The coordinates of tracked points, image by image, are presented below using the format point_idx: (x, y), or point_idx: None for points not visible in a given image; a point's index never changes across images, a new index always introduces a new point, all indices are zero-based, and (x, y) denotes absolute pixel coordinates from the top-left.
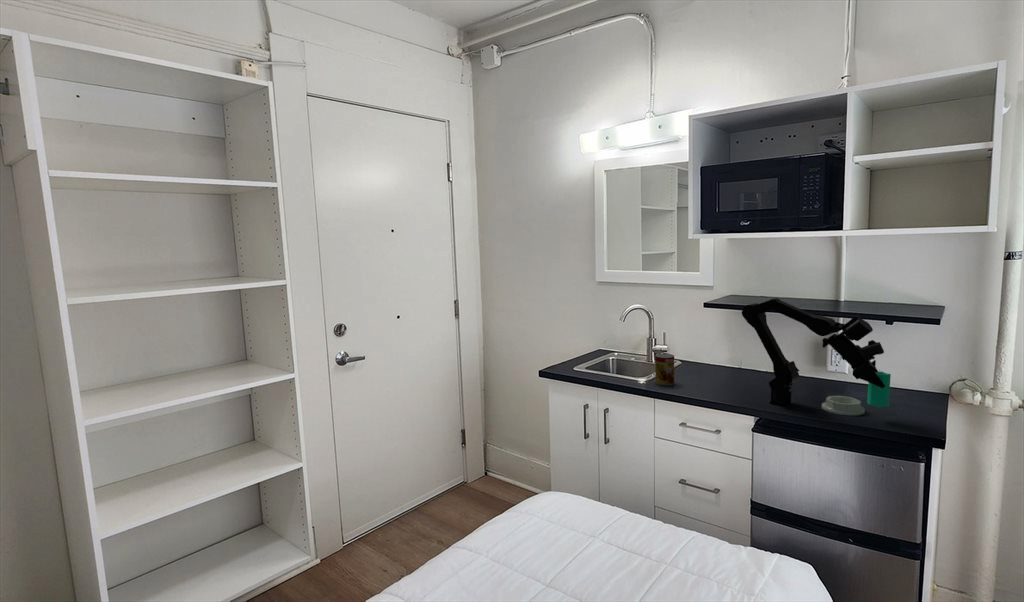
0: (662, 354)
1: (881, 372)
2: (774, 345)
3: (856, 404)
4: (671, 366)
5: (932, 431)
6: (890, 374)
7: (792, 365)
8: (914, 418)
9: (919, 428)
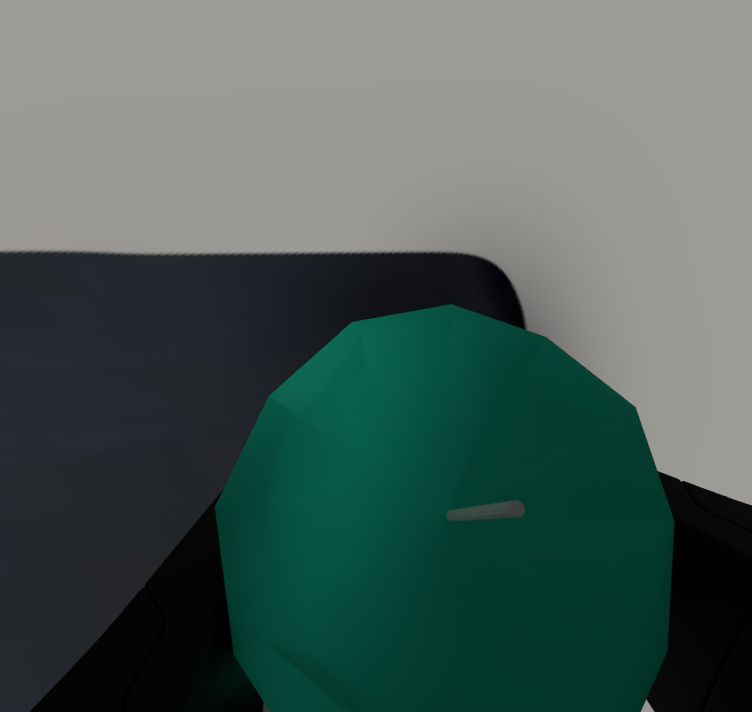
0: None
1: (257, 510)
2: None
3: None
4: None
5: (389, 268)
6: (435, 308)
7: None
8: (191, 346)
9: (378, 314)
